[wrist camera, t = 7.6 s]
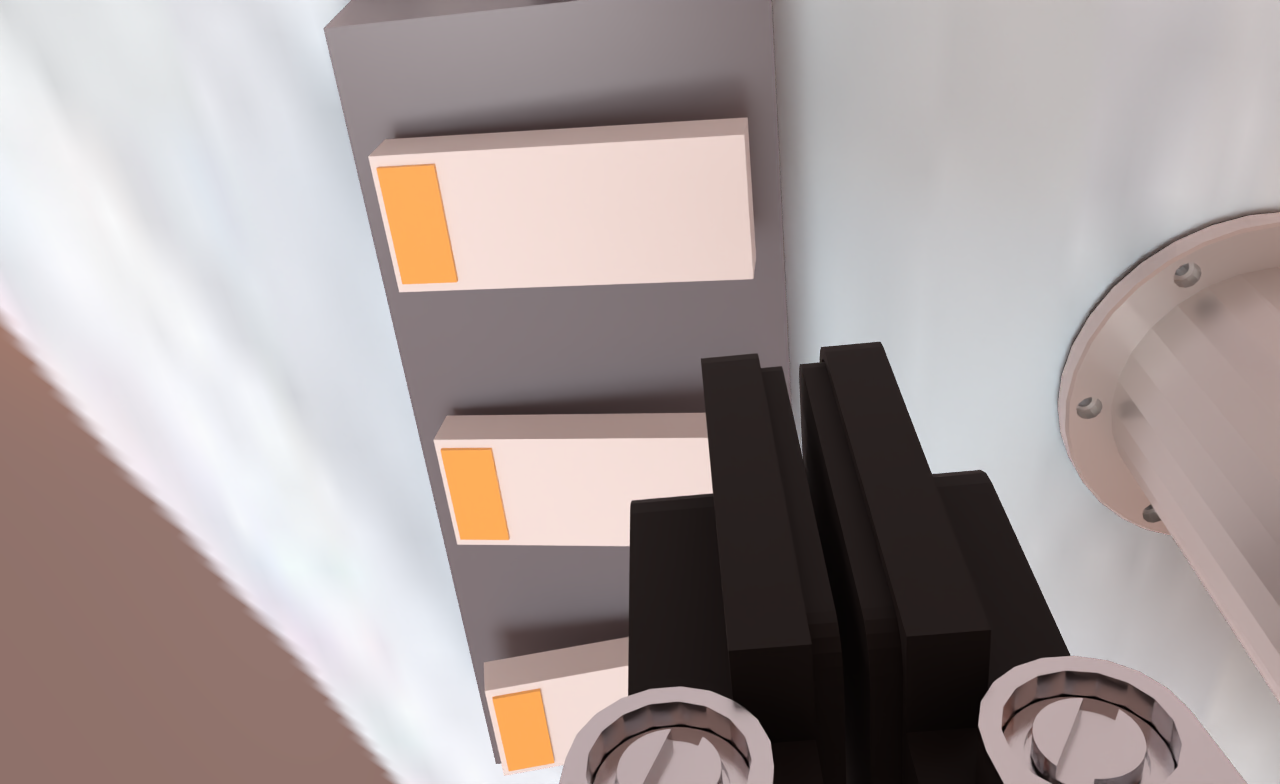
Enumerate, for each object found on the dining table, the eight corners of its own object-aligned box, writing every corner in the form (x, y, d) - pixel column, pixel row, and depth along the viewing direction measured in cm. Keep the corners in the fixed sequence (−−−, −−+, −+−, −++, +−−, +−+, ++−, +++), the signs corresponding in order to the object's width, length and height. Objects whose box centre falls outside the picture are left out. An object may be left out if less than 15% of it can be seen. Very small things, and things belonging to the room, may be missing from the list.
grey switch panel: (749, -200, 33) (762, -189, 29) (795, 666, 49) (807, 740, 45) (322, -150, 33) (285, -133, 30) (506, 689, 49) (495, 763, 46)
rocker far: (769, 611, 41) (780, 641, 40) (775, 696, 43) (785, 726, 42) (483, 662, 40) (484, 694, 39) (502, 745, 42) (504, 778, 41)
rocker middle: (765, 412, 35) (762, 439, 34) (772, 519, 37) (769, 550, 36) (446, 415, 37) (432, 442, 36) (469, 518, 39) (455, 547, 38)
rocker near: (747, 117, 31) (743, 136, 30) (756, 257, 33) (752, 281, 32) (385, 139, 33) (366, 158, 31) (413, 271, 35) (398, 294, 33)
